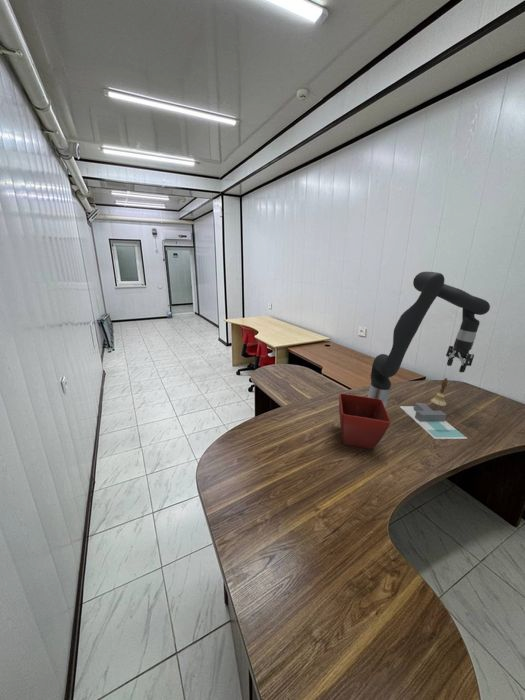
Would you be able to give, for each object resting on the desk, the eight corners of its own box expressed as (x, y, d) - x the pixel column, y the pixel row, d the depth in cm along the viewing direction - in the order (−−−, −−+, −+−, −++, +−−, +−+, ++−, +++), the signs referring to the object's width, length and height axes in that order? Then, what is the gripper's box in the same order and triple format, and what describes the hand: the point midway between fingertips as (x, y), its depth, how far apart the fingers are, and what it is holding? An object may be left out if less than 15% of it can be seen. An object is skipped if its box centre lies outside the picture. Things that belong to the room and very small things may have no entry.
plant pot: (382, 456, 114) (391, 422, 109) (335, 448, 118) (342, 414, 112) (374, 430, 132) (381, 399, 127) (333, 423, 135) (339, 392, 130)
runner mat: (434, 439, 129) (434, 438, 128) (399, 406, 156) (399, 406, 156) (467, 439, 131) (467, 438, 130) (426, 406, 158) (427, 406, 158)
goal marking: (435, 437, 130) (435, 437, 129) (416, 420, 143) (416, 420, 143) (465, 437, 131) (466, 437, 131) (444, 420, 145) (444, 420, 145)
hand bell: (449, 406, 160) (457, 381, 155) (435, 405, 160) (443, 380, 155) (441, 399, 168) (448, 375, 163) (427, 398, 168) (434, 374, 162)
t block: (419, 421, 142) (421, 414, 140) (405, 409, 153) (407, 402, 152) (444, 421, 143) (446, 414, 142) (429, 409, 155) (430, 402, 153)
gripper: (448, 334, 145) (438, 363, 150) (469, 343, 131) (458, 374, 136) (461, 335, 145) (451, 364, 151) (483, 343, 132) (472, 374, 137)
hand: (454, 368), depth 143 cm, fingers open, 8 cm apart
